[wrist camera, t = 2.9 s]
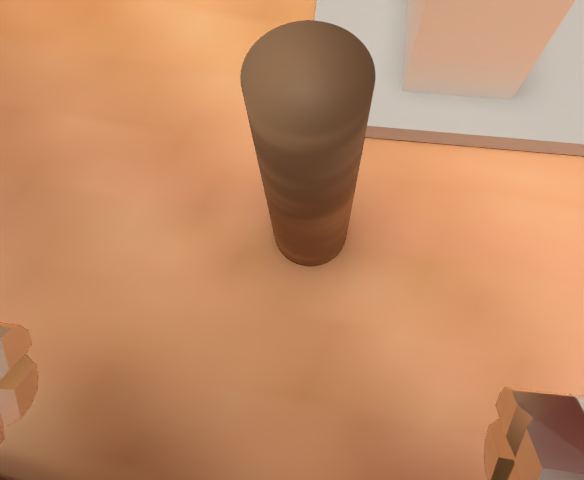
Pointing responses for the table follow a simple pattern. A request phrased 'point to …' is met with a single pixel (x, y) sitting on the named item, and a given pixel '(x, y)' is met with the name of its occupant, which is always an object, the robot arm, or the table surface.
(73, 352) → the table surface
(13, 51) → the table surface
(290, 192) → the post
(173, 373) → the table surface
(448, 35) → the ridge
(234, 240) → the table surface
